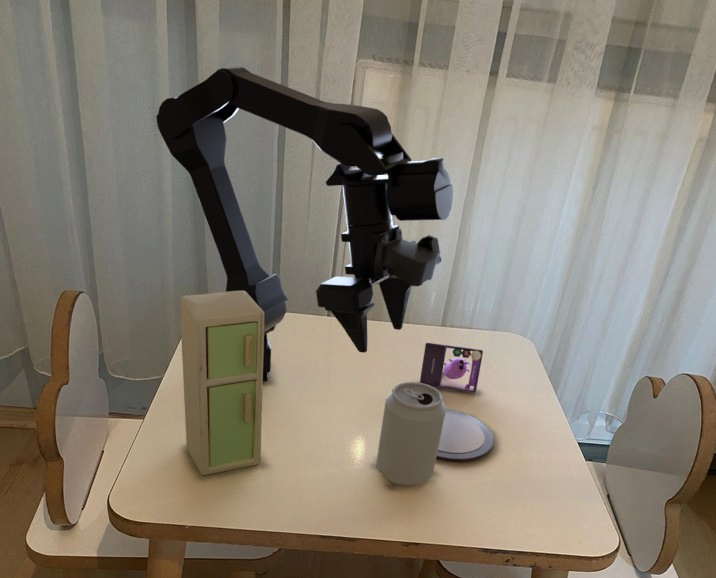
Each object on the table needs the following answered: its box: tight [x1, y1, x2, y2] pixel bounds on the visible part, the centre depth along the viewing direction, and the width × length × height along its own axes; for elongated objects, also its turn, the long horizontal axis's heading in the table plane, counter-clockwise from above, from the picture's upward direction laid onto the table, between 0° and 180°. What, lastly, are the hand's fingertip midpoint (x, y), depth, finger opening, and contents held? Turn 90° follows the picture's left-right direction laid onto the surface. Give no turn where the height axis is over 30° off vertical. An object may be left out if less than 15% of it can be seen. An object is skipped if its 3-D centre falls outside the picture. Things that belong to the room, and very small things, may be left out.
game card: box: [419, 342, 484, 393], centre depth 113 cm, size 7×5×9 cm
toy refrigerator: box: [179, 291, 264, 476], centre depth 85 cm, size 8×7×21 cm
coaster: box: [436, 409, 494, 463], centre depth 101 cm, size 13×13×1 cm
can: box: [375, 381, 447, 487], centre depth 89 cm, size 8×8×12 cm
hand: (381, 340), depth 96 cm, fingers open, 9 cm apart
